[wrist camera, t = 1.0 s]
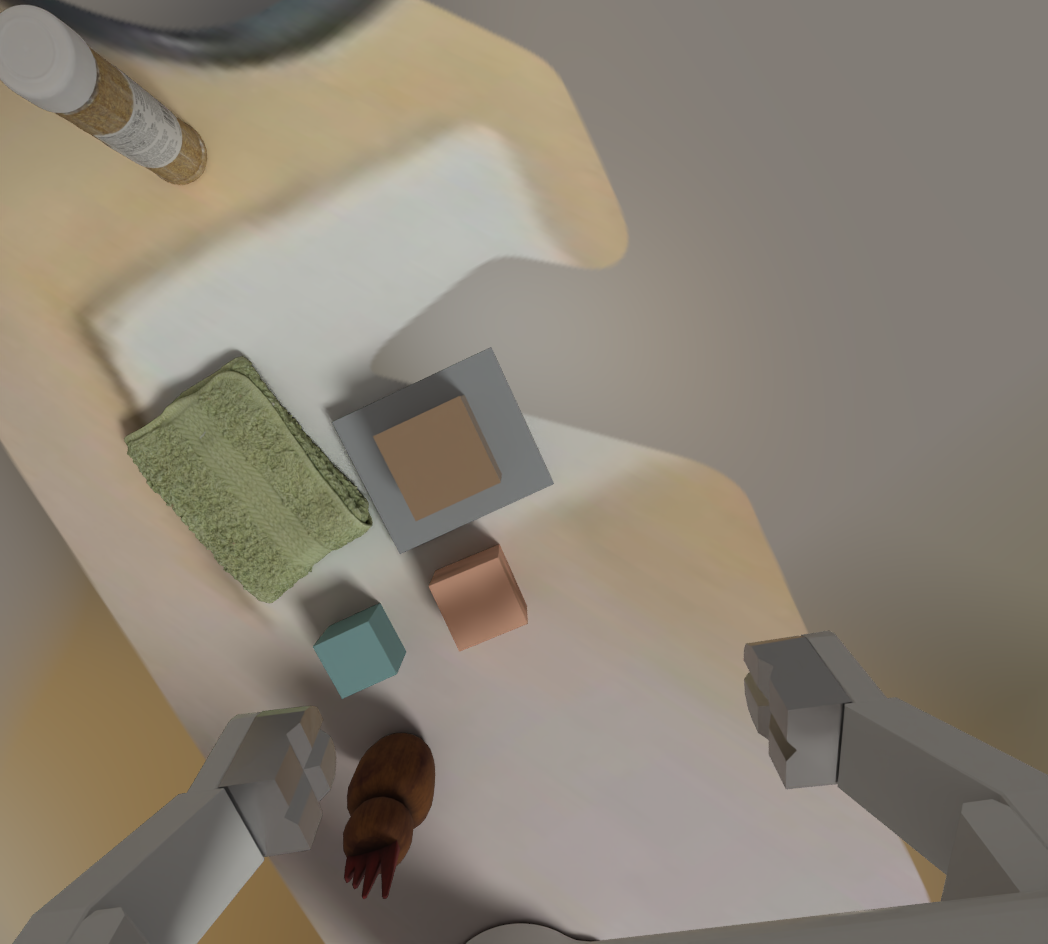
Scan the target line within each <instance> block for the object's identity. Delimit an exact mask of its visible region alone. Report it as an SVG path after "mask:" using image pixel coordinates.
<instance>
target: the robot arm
mask: <svg viewBox="0 0 1048 944" xmlns="http://www.w3.org/2000/svg"><path fill="white" fill-rule="evenodd" d="M744 662H745V663H746V665H747V667H748V669H749V671H750V672H749V673H748V675H747V676H746V677H745V679H744V686H745V696H746V701H747V706H748V710H749V712H750V715H751V718H752V721H753V723H754V725H755V727H756V729H757V731H758V733H759V734H761V735H762V736H764V737H765V738H767V739H768V740H769V756H770V758H771V760H772V762H773V764H774V766H775V768H776V770H777V772H778V774H779V776H780V778H781V780H782V782H783V784H784V786H785V788H786V789H793V788H803V787H813V786H823V785H833V784H838V787H839V788H840V789H841V790H842V791H843V792H845V793H846V794H847V795H848V796H850V797H851V798H852V799H853V800H855V801H856V802H857V803H858V804H860V805H861V806H862V807H863V808H864V809H866V810H867V811H868V812H869V813H871V814H872V815H873V816H874V817H876V818H877V819H878V820H879V821H880V822H882V823H883V824H884V825H885V826H887V827H888V828H889V829H890V830H892V831H893V832H894V833H895V834H897V835H898V836H899V837H900V838H901V839H903V840H904V841H905V842H906V843H908V844H909V845H910V846H911V847H913V848H914V849H915V850H916V851H918V852H919V853H920V854H921V855H922V856H924V857H925V858H926V859H927V860H929V861H930V862H931V863H932V864H934V865H935V866H936V867H937V868H939V869H940V870H941V871H942V872H943V873H945V874H946V875H947V876H946V880H945V885H944V890H943V894H942V898H941V902H932V903H924V904H915V905H906V906H898V907H889V908H880V909H871V910H863V911H854V912H845V913H837V914H828V915H819V916H810V917H802V918H793V919H784V920H776V921H767V922H758V923H749V924H741V925H732V926H723V927H715V928H706V929H697V930H688V931H680V932H671V933H662V934H654V935H645V936H636V937H627V938H619V939H610V940H601V941H592V942H589V941H579V940H574V939H572V938H569V937H567V936H565V935H563V934H561V933H559V932H557V931H555V930H553V929H550V928H547V927H544V926H540V925H534V924H521V923H519V924H508V925H502V926H498V927H495V928H492V929H489V930H487V931H484V932H482V933H480V934H479V935H477V936H475V937H474V938H472V939H471V940H469V941H468V942H467V943H466V944H1048V775H1047V774H1045V773H1043V772H1041V771H1039V770H1037V769H1035V768H1033V767H1031V766H1029V765H1027V764H1025V763H1023V762H1021V761H1020V760H1017V759H1016V758H1013V757H1012V756H1010V755H1008V754H1006V753H1004V752H1002V751H1000V750H998V749H996V748H994V747H992V746H990V745H988V744H986V743H984V742H982V741H980V740H978V739H977V738H975V737H973V736H971V735H969V734H967V733H965V732H963V731H961V730H959V729H957V728H955V727H953V726H951V725H949V724H947V723H945V722H943V721H941V720H939V719H937V718H935V717H934V716H931V715H930V714H928V713H926V712H924V711H922V710H920V709H918V708H916V707H914V706H912V705H910V704H908V703H906V702H904V701H902V700H900V699H898V698H887V697H886V696H885V695H884V694H883V692H882V691H881V690H880V689H879V688H878V686H877V685H876V684H875V683H874V681H873V680H872V679H871V678H870V676H868V674H867V673H866V671H864V669H863V668H862V667H861V665H860V664H859V663H858V662H857V660H856V659H855V658H854V657H853V655H852V654H851V653H850V652H849V650H848V649H847V648H846V647H845V646H844V645H843V643H842V642H841V641H840V639H839V638H838V637H837V636H836V634H834V633H833V632H831V631H823V632H818V633H811V634H804V635H801V636H793V637H786V638H779V639H773V640H766V641H760V642H753V643H746V645H745V648H744ZM322 722H323V718H322V716H321V714H320V712H319V710H318V708H317V707H315V706H303V707H294V708H286V709H277V710H269V711H262V712H257V713H248V714H238V715H236V716H235V717H234V718H232V719H231V720H230V721H229V722H228V724H227V726H226V728H225V729H224V731H223V733H222V734H221V736H220V738H219V739H218V741H217V743H216V744H215V746H214V748H213V750H212V751H211V753H210V755H209V756H208V758H207V760H206V761H205V763H204V765H203V766H202V768H201V770H200V772H199V773H198V775H197V777H196V778H195V780H194V782H193V784H192V785H191V787H190V789H189V790H188V792H187V793H183V794H178V795H177V796H176V797H175V798H173V799H172V800H171V801H170V802H169V803H168V804H166V805H165V806H164V807H163V808H161V809H160V810H159V811H158V812H157V813H155V814H154V815H153V816H152V817H151V818H149V819H148V820H147V821H146V822H145V823H143V824H142V825H141V826H140V827H138V829H136V830H135V831H134V832H132V833H131V834H130V835H129V836H128V837H127V838H125V839H124V840H123V841H122V842H120V843H119V844H118V845H117V846H116V847H114V848H113V849H112V850H111V851H110V852H108V853H107V854H106V855H105V856H103V857H102V858H101V859H100V860H99V861H97V862H96V863H95V864H94V865H93V866H91V867H90V868H89V869H88V870H87V871H85V872H84V873H83V874H82V875H81V876H80V877H78V878H77V879H76V880H75V881H73V882H72V883H71V884H70V885H69V886H67V887H66V888H65V889H64V890H62V891H61V892H60V893H59V894H58V895H56V896H55V897H54V898H53V899H52V900H50V901H49V902H48V903H47V904H46V905H44V906H43V907H42V908H41V909H40V910H38V911H37V912H36V913H35V914H33V915H32V917H31V918H30V920H29V921H28V923H27V924H26V925H25V927H24V928H23V930H22V931H21V933H20V934H19V935H18V937H17V938H16V939H15V941H14V942H13V944H196V943H197V942H198V941H199V940H200V939H201V938H202V936H203V935H204V934H205V933H206V931H207V930H208V929H209V927H210V926H211V925H212V924H213V923H214V921H215V920H216V919H217V918H218V917H219V915H220V914H221V913H222V912H223V910H224V909H225V908H226V907H227V905H228V904H229V903H230V902H231V901H232V899H233V898H234V897H235V896H236V894H237V893H238V892H239V891H240V889H241V888H242V887H243V886H244V884H245V883H246V882H247V881H248V879H249V878H250V877H251V876H252V874H253V873H254V872H255V871H256V870H257V868H258V867H259V866H260V865H261V864H262V862H263V861H264V857H267V856H273V855H280V854H286V853H292V852H299V851H305V850H311V847H312V844H313V841H314V838H315V835H316V832H317V829H318V826H319V823H320V820H321V817H322V814H323V812H322V809H321V807H320V805H319V801H320V800H321V799H322V798H323V797H324V796H325V795H326V794H327V793H328V792H329V791H330V790H331V787H332V783H333V780H334V777H335V771H336V752H335V746H334V743H333V741H332V738H331V736H329V735H328V734H326V733H325V732H323V731H322V730H320V727H321V724H322Z"/></svg>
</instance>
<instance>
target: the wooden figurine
mask: <svg viewBox="0 0 1048 944" xmlns="http://www.w3.org/2000/svg"><path fill="white" fill-rule="evenodd" d="M434 786H435V764H434V759H433V756H432V753H431V750H430V748H429V746H428V745H427V744H426V743H425V742H424V741H423V740H422V739H421V738H419V737H417V736H415V735H412V734H407V733H394V734H391V735H388V736H385V737H383V738H381V739H380V740H379V741H378V742H376V743H375V744H374V745H373V746H371V747H370V748H369V749H368V750H367V751H366V753H365V754H364V756H363V757H362V758H361V760H360V762H359V764H358V766H357V768H356V771H355V773H354V775H353V778H352V780H351V782H350V785H349V787H348V794H347V809H348V811H349V813H350V816H351V817H350V819H349V821H348V822H347V824H346V826H345V829H344V833H343V849H344V853H345V855H346V857H347V860H346V866H345V874H344V878H345V881H346V883H348V882H349V881H350V880H351V879H352V878H353V883H352V885H353V888H354V889H356V888H358V886H359V884H360V882H361V881H362V879H363V877H364V875H365V877H364V884H363V891H362V898H363V899H365V898H367V896H368V894H369V892H370V890H371V888H372V886H373V884H374V882H375V880H376V878H377V875H378V874H381V878H382V897H383V899H386V898H387V897H388V894H389V891H390V887H391V883H392V880H393V876H394V872H395V868H396V866H397V865H398V864H399V863H400V862H401V861H402V860H403V858H404V857H405V855H406V853H407V852H408V850H409V848H410V845H411V842H412V836H413V829H414V828H416V827H417V826H419V825H420V824H421V823H422V822H423V821H424V819H425V818H426V816H427V814H428V812H429V810H430V808H431V806H432V801H433V795H434Z"/></svg>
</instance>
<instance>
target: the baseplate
mask: <svg viewBox="0 0 1048 944" xmlns="http://www.w3.org/2000/svg"><path fill="white" fill-rule="evenodd" d="M332 423H333V425H334V427H335V429H336V431H337V433H338V435H339V437H340V439H341V441H342V443H343V445H344V446H345V448H346V450H347V452H348V454H349V456H350V458H351V460H352V462H353V464H354V466H355V468H356V470H357V472H358V474H359V476H360V478H361V479H362V481H363V483H364V485H365V487H366V489H367V491H368V493H369V495H370V497H371V499H372V501H373V503H374V505H375V507H376V509H377V511H378V512H379V514H380V516H381V518H382V520H383V522H384V524H385V526H386V528H387V530H388V532H389V534H390V536H391V538H392V540H393V542H394V544H395V546H396V547H397V549H398V551H399V553H400V554H401V553H403V552H406V551H408V550H410V549H412V548H414V547H417V546H419V545H421V544H423V543H425V542H428V541H430V540H432V539H434V538H436V537H439V536H441V535H443V534H445V533H447V532H449V531H452V530H454V529H456V528H458V527H460V526H463V525H465V524H467V523H469V522H471V521H474V520H476V519H478V518H480V517H482V516H485V515H487V514H489V513H491V512H493V511H496V510H498V509H500V508H502V507H504V506H506V505H509V504H511V503H513V502H515V501H517V500H520V499H522V498H524V497H526V496H528V495H531V494H533V493H535V492H537V491H539V490H542V489H544V488H546V487H548V486H550V485H553V484H554V483H553V480H552V478H551V476H550V474H549V472H548V469H547V467H546V465H545V463H544V461H543V458H542V456H541V454H540V452H539V450H538V448H537V445H536V443H535V441H534V439H533V437H532V435H531V432H530V430H529V428H528V426H527V424H526V422H525V419H524V417H523V415H522V413H521V411H520V409H519V406H518V404H517V402H516V400H515V398H514V395H513V394H512V391H511V389H510V387H509V385H508V383H507V380H506V378H505V376H504V374H503V372H502V369H501V367H500V365H499V363H498V361H497V358H496V356H495V354H494V352H493V350H492V348H491V347H490V348H488V349H486V350H484V351H482V352H480V353H477V354H475V355H473V356H471V357H469V358H467V359H465V360H463V361H461V362H458V363H456V364H454V365H452V366H450V367H448V368H446V369H444V370H442V371H439V372H437V373H435V374H433V375H431V376H429V377H427V378H425V379H423V380H420V381H418V382H416V383H414V384H412V385H410V386H408V387H405V388H403V389H401V390H399V391H397V392H395V393H393V394H391V395H388V396H386V397H384V398H382V399H380V400H378V401H376V402H374V403H372V404H369V405H367V406H365V407H363V408H361V409H359V410H357V411H355V412H352V413H350V414H348V415H346V416H344V417H342V418H340V419H338V420H336V421H333V422H332Z"/></svg>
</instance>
